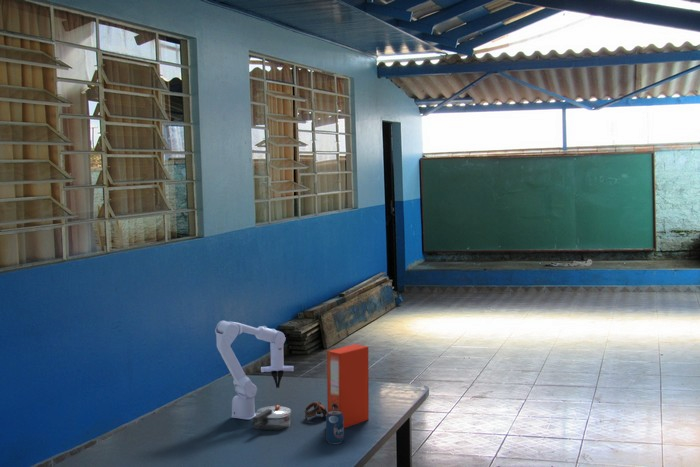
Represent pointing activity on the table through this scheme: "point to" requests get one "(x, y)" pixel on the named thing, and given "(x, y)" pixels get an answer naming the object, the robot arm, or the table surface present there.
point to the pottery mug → (315, 410)
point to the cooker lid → (271, 413)
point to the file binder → (349, 383)
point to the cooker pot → (273, 423)
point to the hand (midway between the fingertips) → (277, 387)
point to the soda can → (335, 427)
